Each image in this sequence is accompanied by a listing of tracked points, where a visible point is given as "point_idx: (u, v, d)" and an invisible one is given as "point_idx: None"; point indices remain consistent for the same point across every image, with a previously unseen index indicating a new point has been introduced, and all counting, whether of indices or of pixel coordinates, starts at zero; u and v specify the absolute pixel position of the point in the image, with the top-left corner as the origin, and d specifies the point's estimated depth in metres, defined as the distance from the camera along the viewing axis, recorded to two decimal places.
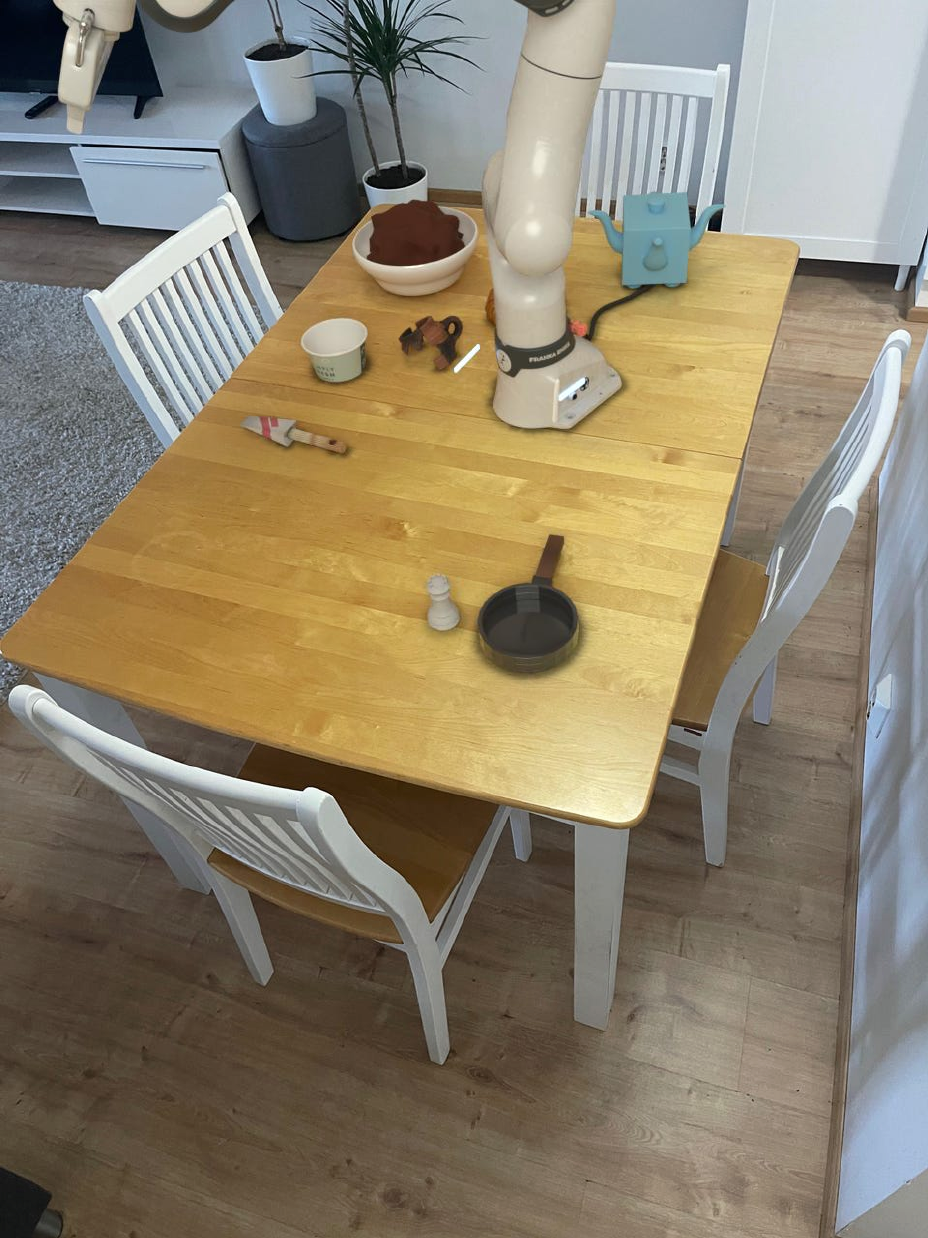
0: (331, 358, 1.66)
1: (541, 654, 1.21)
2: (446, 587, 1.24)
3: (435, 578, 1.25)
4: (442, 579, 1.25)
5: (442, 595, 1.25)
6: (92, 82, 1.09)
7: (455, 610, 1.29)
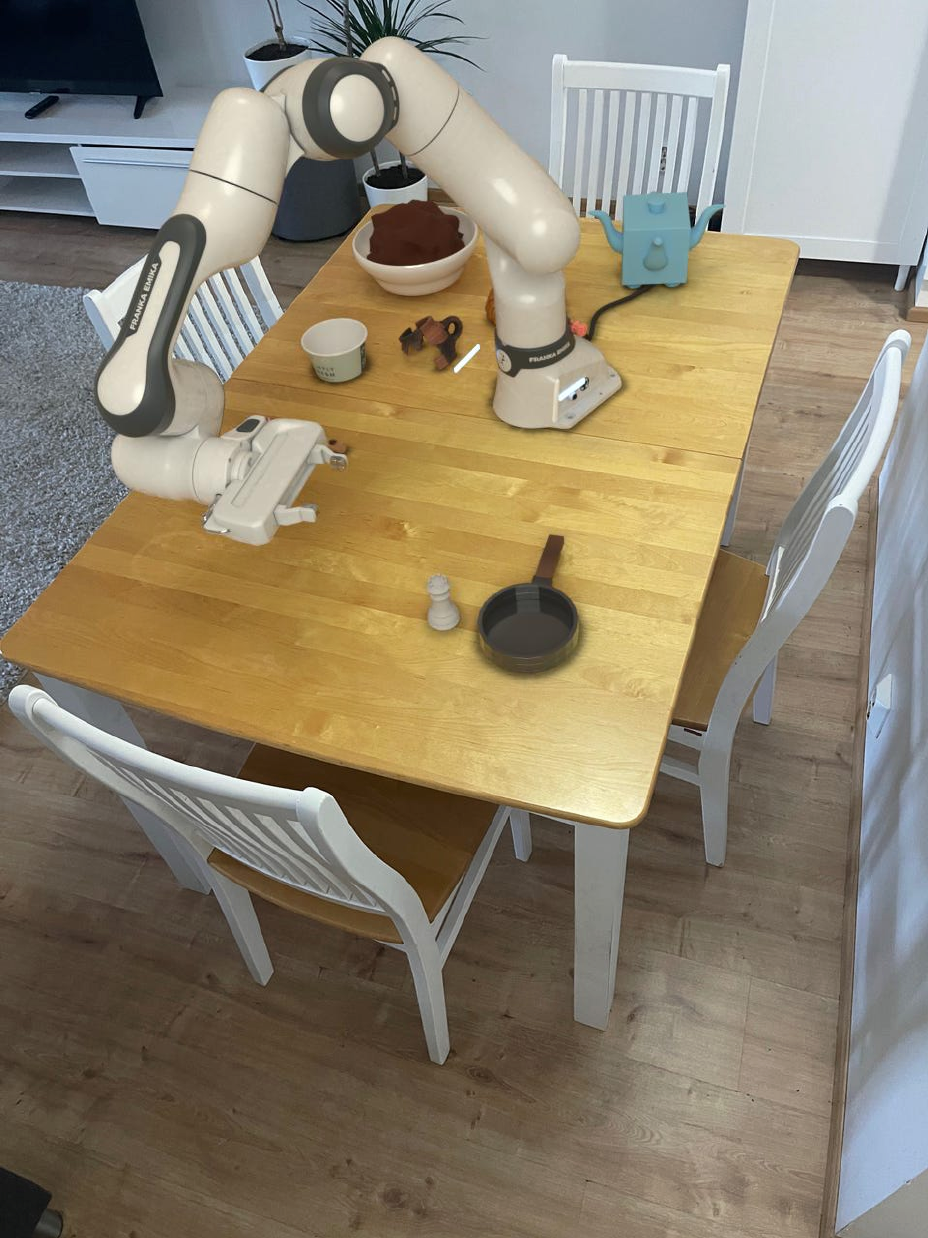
0: (331, 358, 1.66)
1: (541, 654, 1.21)
2: (446, 587, 1.24)
3: (435, 578, 1.25)
4: (442, 579, 1.25)
5: (442, 595, 1.25)
6: (234, 521, 1.12)
7: (455, 610, 1.29)
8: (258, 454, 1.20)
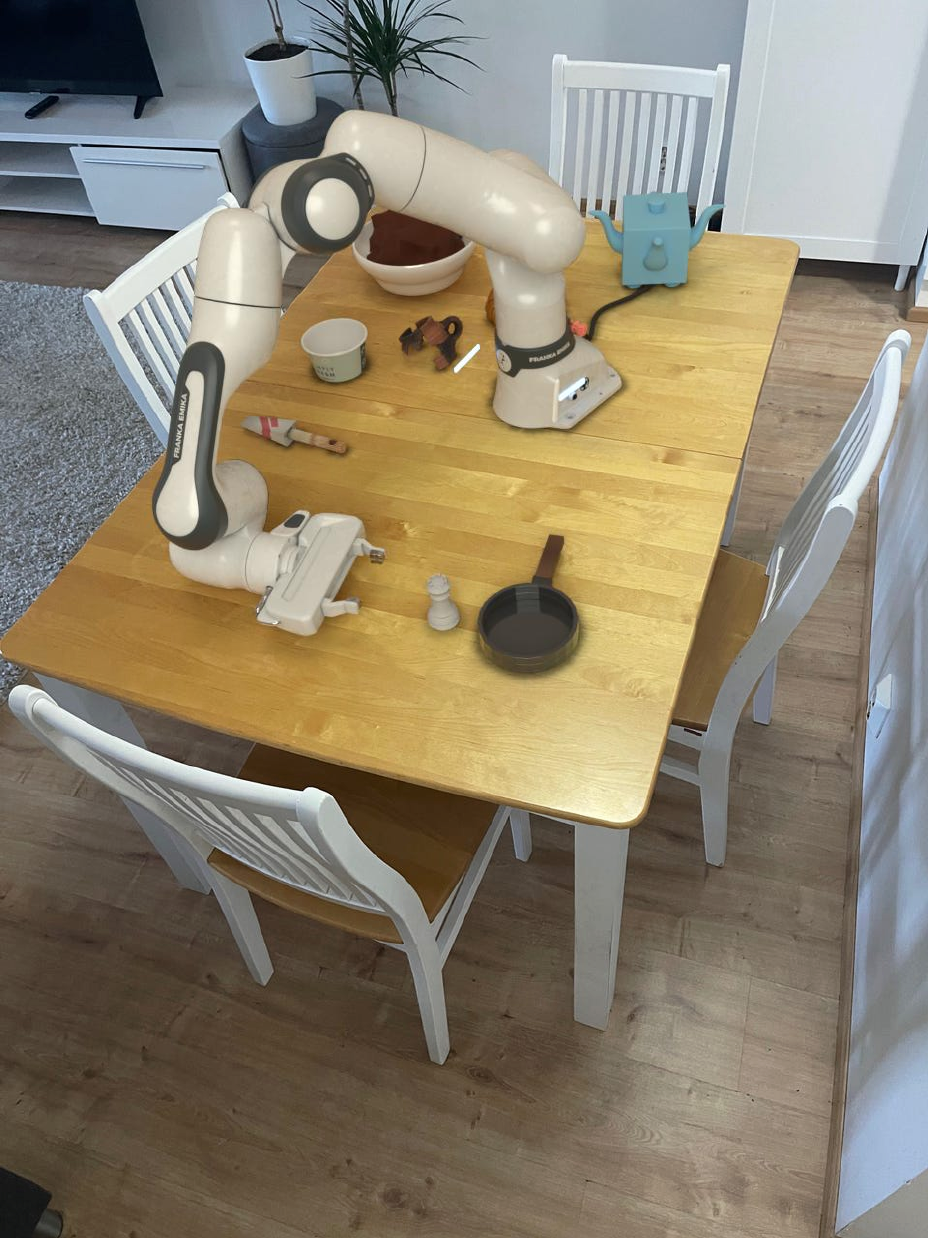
0: (331, 358, 1.66)
1: (541, 654, 1.21)
2: (446, 587, 1.24)
3: (435, 578, 1.25)
4: (442, 579, 1.25)
5: (442, 595, 1.25)
6: (285, 615, 1.24)
7: (455, 610, 1.29)
8: (304, 548, 1.31)
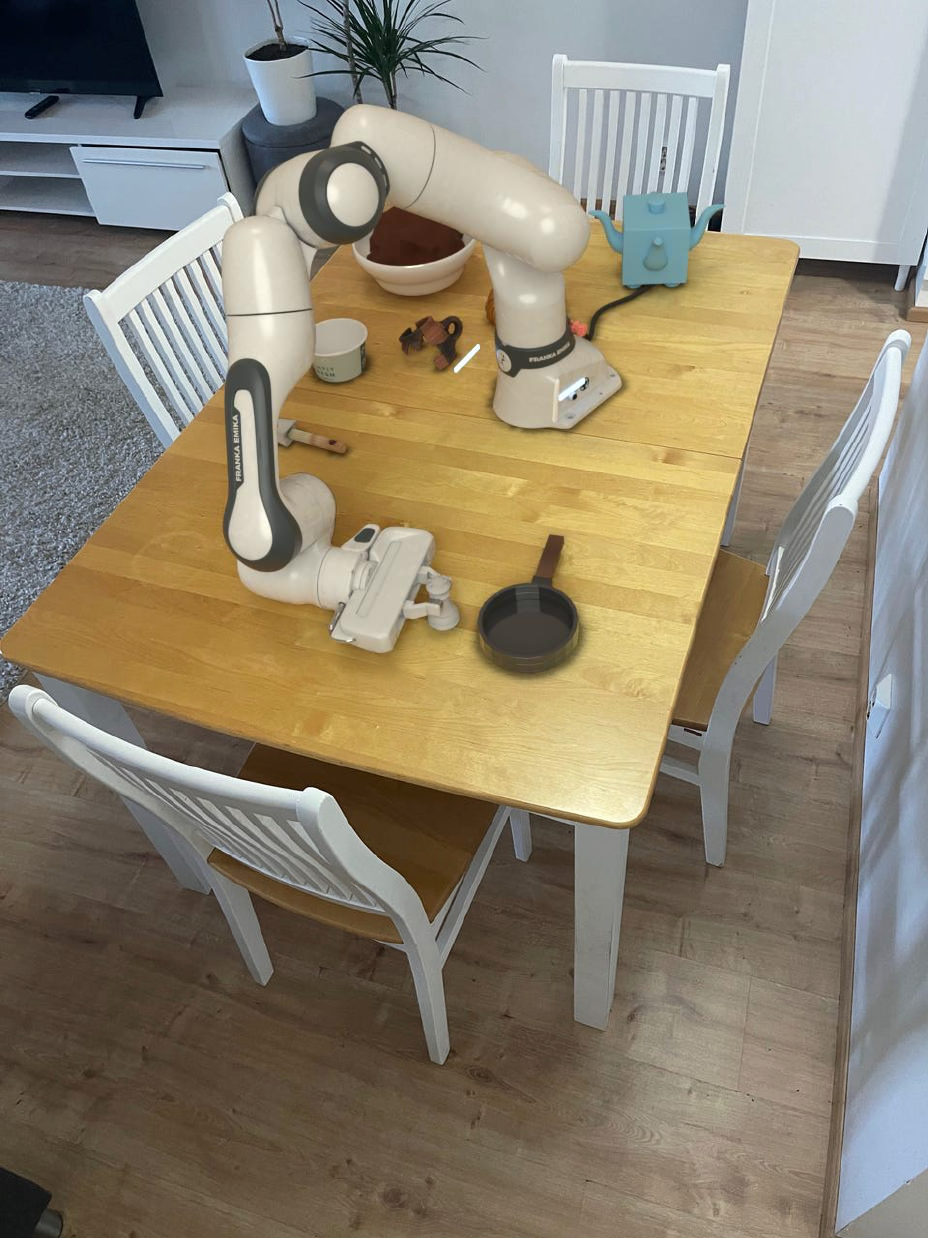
0: (331, 358, 1.66)
1: (541, 654, 1.21)
2: (446, 587, 1.24)
3: (435, 578, 1.25)
4: (442, 579, 1.25)
5: (442, 595, 1.25)
6: (361, 632, 1.21)
7: (455, 610, 1.29)
8: (376, 563, 1.29)
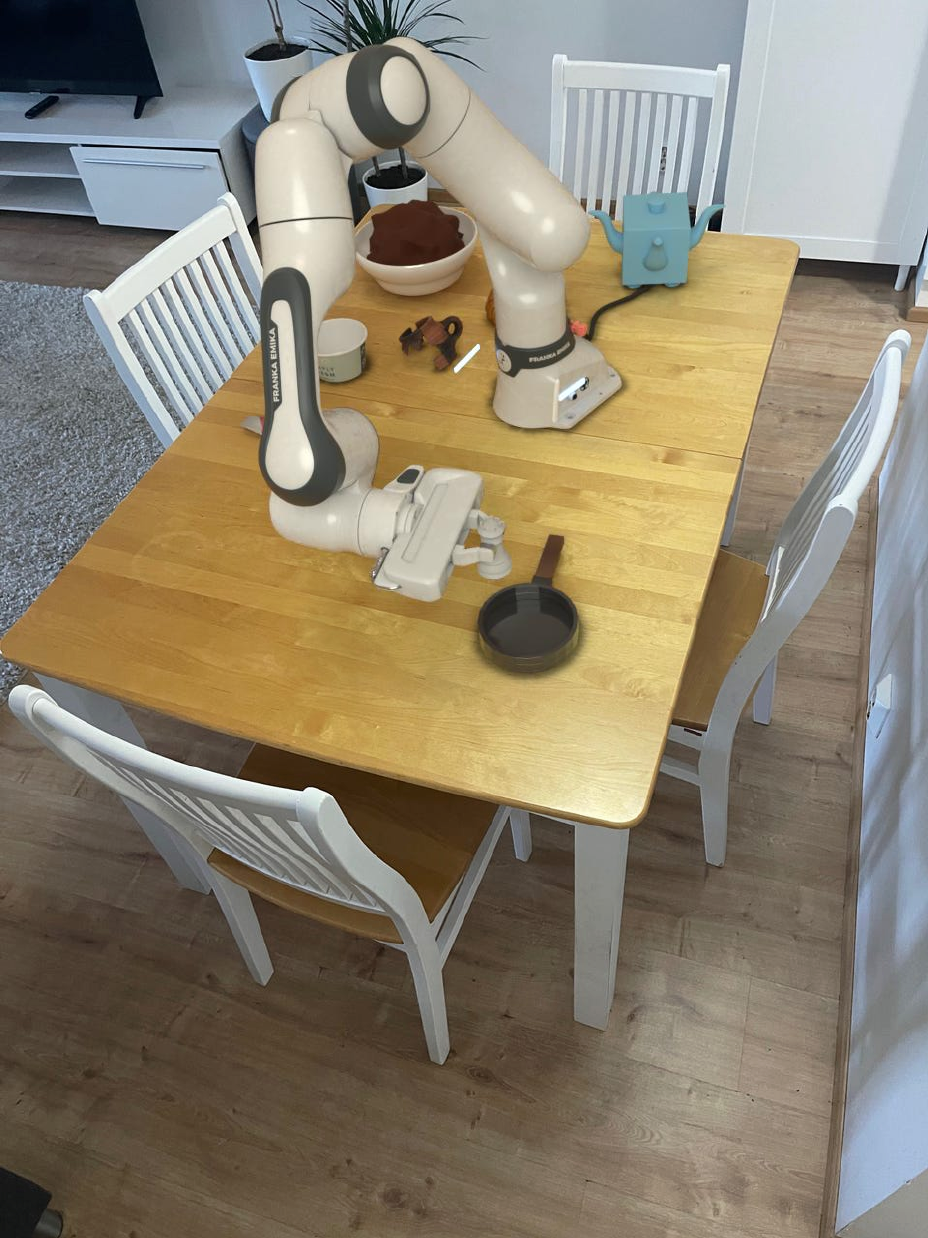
0: (331, 358, 1.66)
1: (541, 654, 1.21)
2: (500, 530, 1.13)
3: (487, 521, 1.14)
4: (495, 522, 1.14)
5: (495, 539, 1.14)
6: (408, 578, 1.10)
7: (508, 557, 1.18)
8: (421, 506, 1.18)
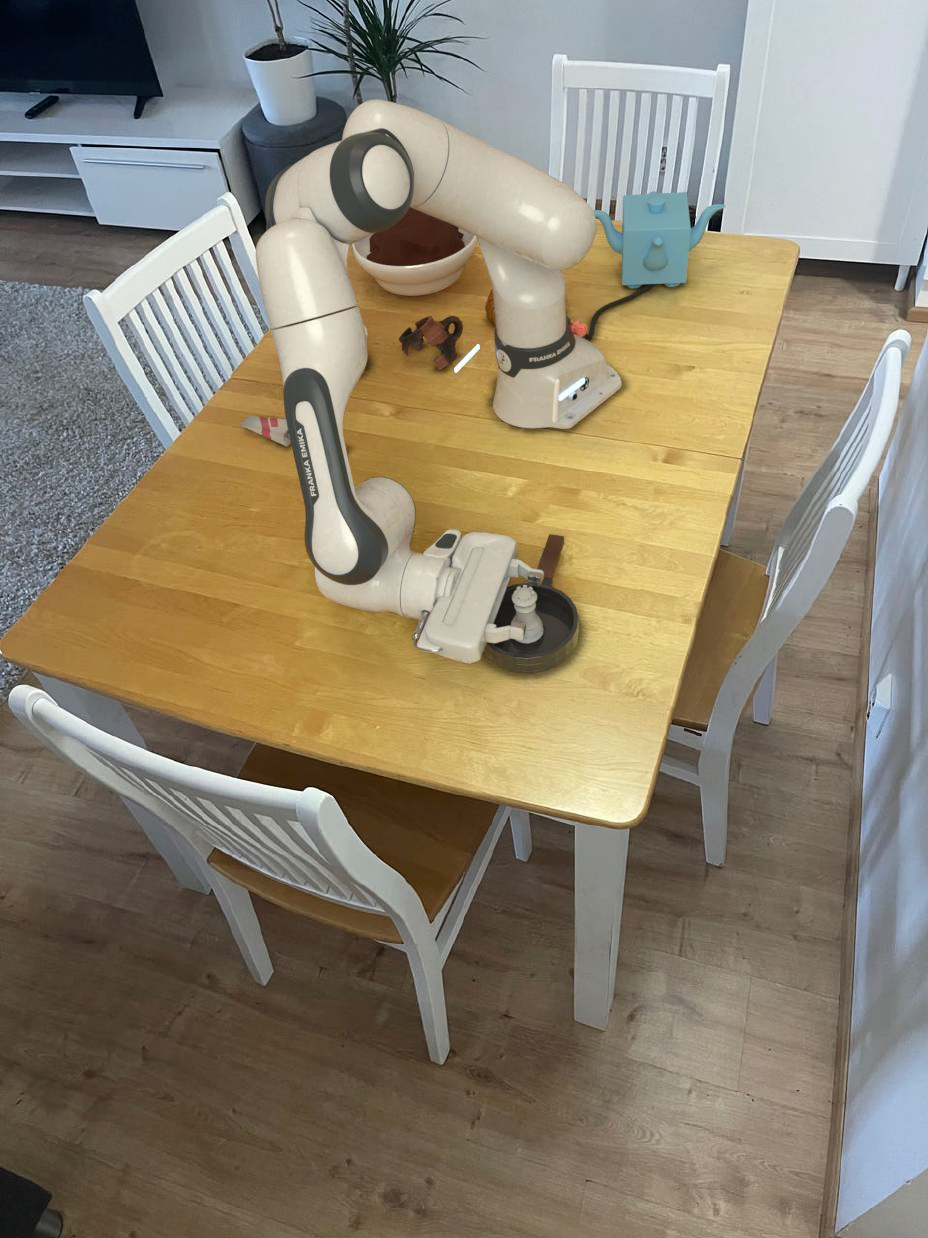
0: None
1: (541, 654, 1.21)
2: (533, 599, 1.21)
3: (521, 590, 1.22)
4: (529, 591, 1.21)
5: (528, 607, 1.21)
6: (450, 642, 1.17)
7: (539, 622, 1.25)
8: (459, 570, 1.25)
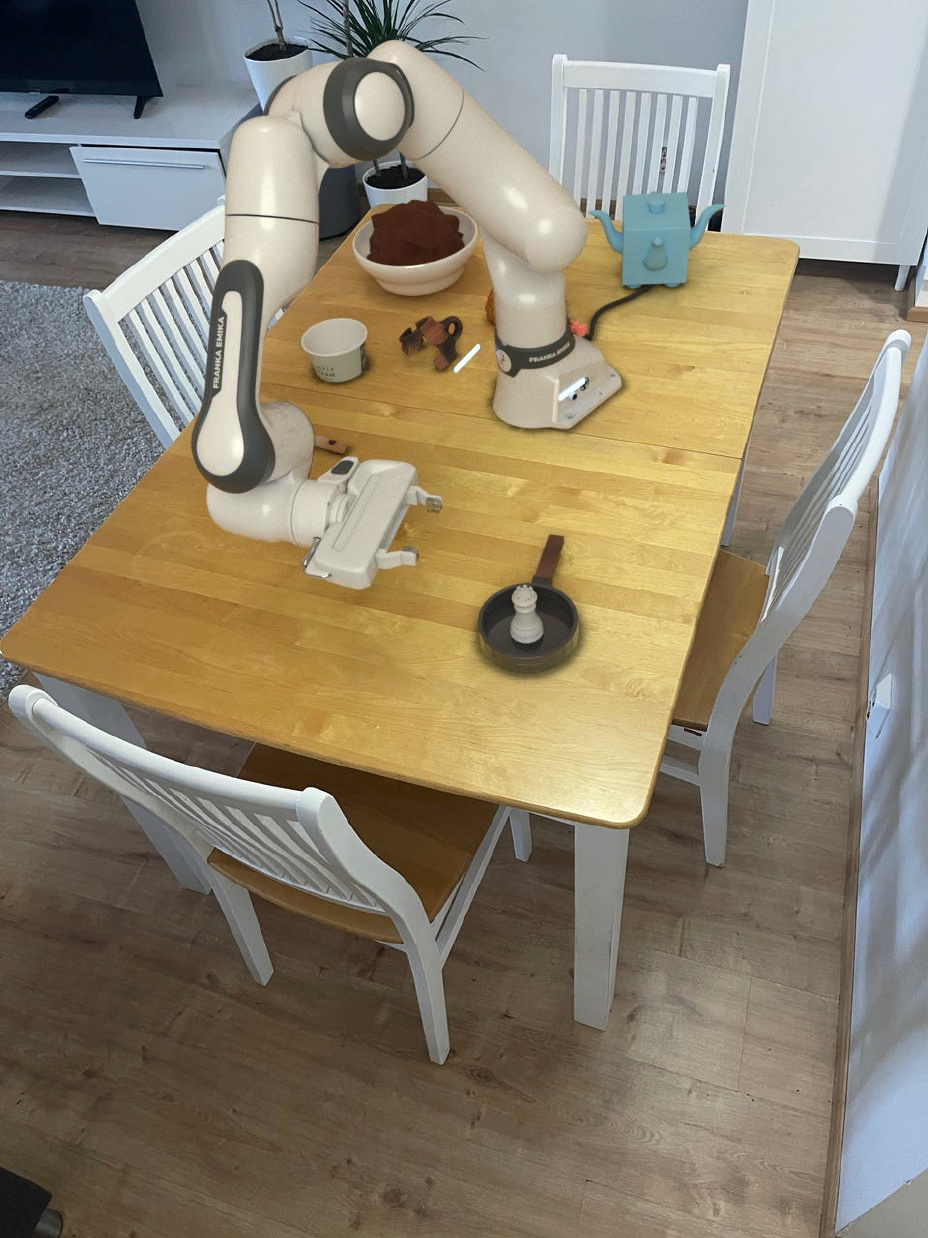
0: (331, 358, 1.66)
1: (541, 654, 1.21)
2: (533, 599, 1.21)
3: (521, 590, 1.22)
4: (529, 591, 1.21)
5: (528, 607, 1.21)
6: (337, 566, 1.13)
7: (539, 622, 1.25)
8: (354, 496, 1.20)
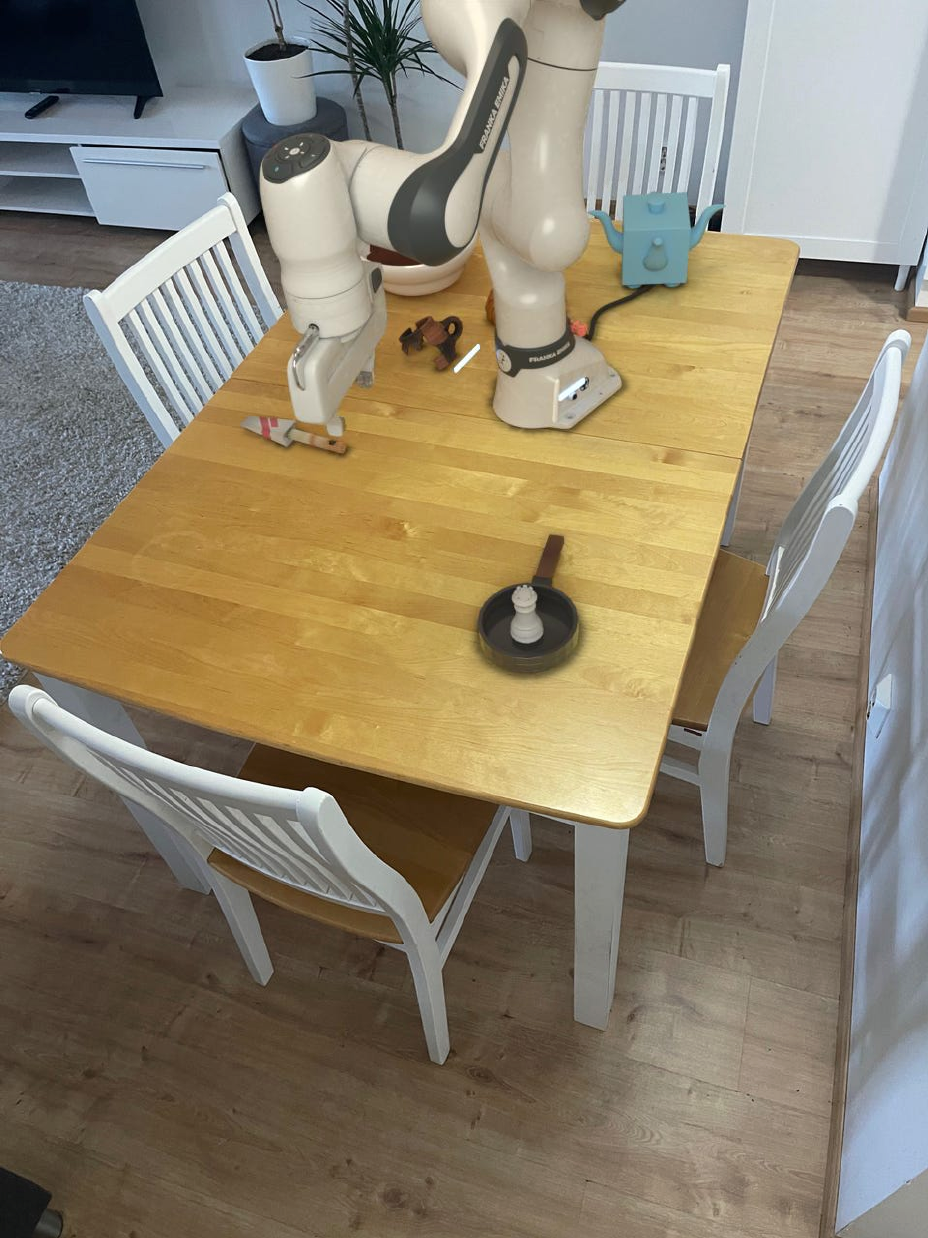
0: None
1: (541, 654, 1.21)
2: (533, 599, 1.21)
3: (521, 590, 1.22)
4: (529, 591, 1.21)
5: (528, 607, 1.21)
6: (319, 400, 1.00)
7: (539, 622, 1.25)
8: None
